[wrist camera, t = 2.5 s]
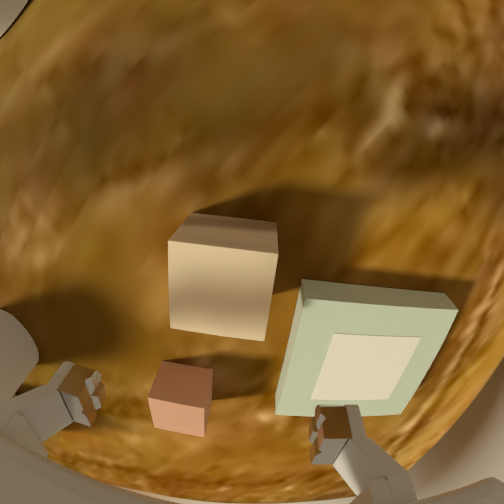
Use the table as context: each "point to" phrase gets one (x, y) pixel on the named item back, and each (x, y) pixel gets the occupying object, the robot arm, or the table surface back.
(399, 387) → the sage base
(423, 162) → the table surface
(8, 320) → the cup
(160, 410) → the terracotta block
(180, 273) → the beech block
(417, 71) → the table surface
